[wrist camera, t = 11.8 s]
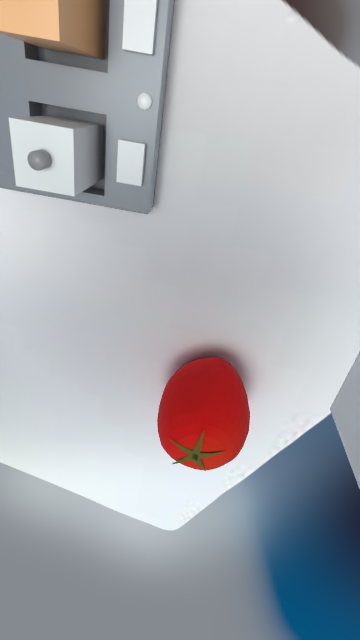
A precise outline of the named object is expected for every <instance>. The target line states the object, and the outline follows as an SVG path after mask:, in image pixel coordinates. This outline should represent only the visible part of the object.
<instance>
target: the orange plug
mask: <svg viewBox="0 0 360 640" xmlns="http://www.w3.org/2000/svg"><path fill="white" fill-rule="evenodd" d="M105 16H106V0H0V34H3V35H6V36H9V37H12V38H15V39H18V40H21V41H24V42H27V43H30V44H33V45H36V46H39V47H42V48H45V49H48V50H53V51H58V52H64V53H69V54H75V55H80V56H86V57H92V58H97V59H103V60H105Z"/></svg>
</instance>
